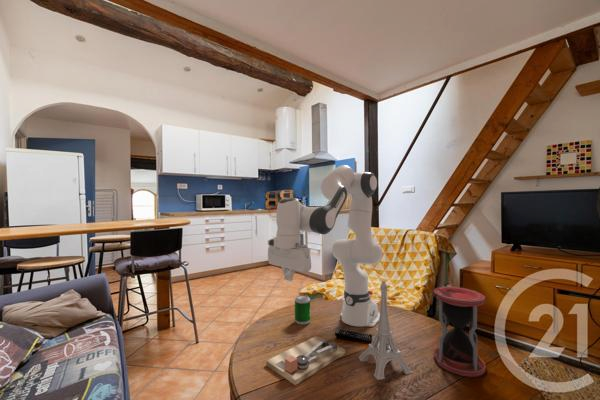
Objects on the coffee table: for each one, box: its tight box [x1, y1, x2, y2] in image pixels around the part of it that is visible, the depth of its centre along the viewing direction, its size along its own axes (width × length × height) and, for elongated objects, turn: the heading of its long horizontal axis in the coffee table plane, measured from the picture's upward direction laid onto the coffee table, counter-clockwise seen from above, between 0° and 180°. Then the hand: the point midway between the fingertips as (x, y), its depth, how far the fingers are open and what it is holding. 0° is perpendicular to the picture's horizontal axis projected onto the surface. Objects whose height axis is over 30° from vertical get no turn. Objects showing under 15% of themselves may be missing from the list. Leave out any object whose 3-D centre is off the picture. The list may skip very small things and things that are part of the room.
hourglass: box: [432, 286, 486, 378], centre depth 99 cm, size 16×16×25 cm
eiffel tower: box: [357, 279, 414, 381], centre depth 98 cm, size 13×13×30 cm
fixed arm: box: [297, 341, 338, 370], centre depth 100 cm, size 19×5×2 cm, turn 128°
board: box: [265, 335, 346, 386], centre depth 102 cm, size 26×15×2 cm, turn 134°
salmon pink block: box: [285, 355, 297, 373], centre depth 93 cm, size 3×3×4 cm
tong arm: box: [297, 338, 330, 365], centre depth 101 cm, size 18×4×2 cm, turn 147°
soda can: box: [294, 294, 311, 326], centre depth 133 cm, size 8×8×12 cm
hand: (288, 280), depth 102 cm, fingers closed
